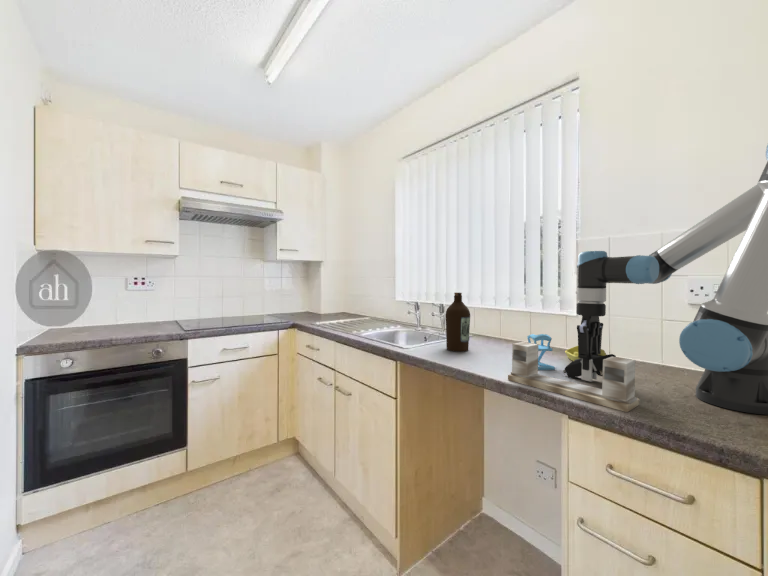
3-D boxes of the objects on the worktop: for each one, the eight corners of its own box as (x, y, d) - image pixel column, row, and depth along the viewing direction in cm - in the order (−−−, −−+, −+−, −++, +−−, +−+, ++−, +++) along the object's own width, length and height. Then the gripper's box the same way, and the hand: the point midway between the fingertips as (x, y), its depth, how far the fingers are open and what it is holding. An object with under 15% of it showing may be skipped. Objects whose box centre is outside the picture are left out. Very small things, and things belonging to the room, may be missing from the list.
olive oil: (440, 349, 146) (440, 292, 146) (453, 346, 154) (454, 291, 153) (461, 353, 139) (462, 293, 138) (474, 349, 147) (475, 292, 146)
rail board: (639, 404, 83) (640, 360, 82) (627, 412, 78) (628, 365, 78) (522, 375, 107) (522, 341, 107) (507, 379, 103) (508, 343, 102)
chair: (543, 363, 123) (543, 331, 122) (555, 369, 114) (556, 334, 114) (522, 363, 123) (523, 331, 122) (533, 369, 114) (533, 334, 114)
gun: (576, 394, 106) (562, 363, 110) (630, 382, 94) (612, 348, 98) (572, 396, 104) (557, 364, 108) (627, 384, 93) (609, 349, 96)
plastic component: (563, 350, 135) (588, 341, 132) (572, 368, 133) (598, 358, 131) (576, 358, 116) (606, 347, 113) (587, 378, 114) (617, 367, 112)
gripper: (588, 300, 109) (586, 372, 110) (566, 302, 99) (564, 380, 100) (615, 302, 103) (613, 377, 104) (593, 304, 93) (591, 387, 94)
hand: (589, 379), depth 102 cm, fingers closed on gun, 3 cm apart
